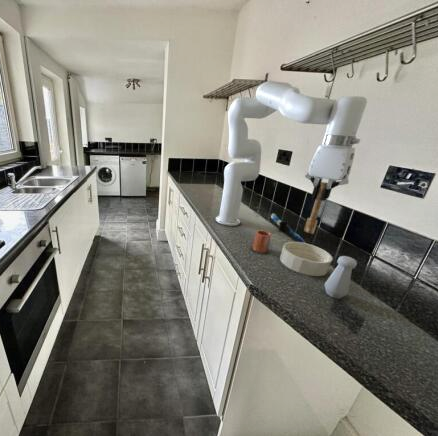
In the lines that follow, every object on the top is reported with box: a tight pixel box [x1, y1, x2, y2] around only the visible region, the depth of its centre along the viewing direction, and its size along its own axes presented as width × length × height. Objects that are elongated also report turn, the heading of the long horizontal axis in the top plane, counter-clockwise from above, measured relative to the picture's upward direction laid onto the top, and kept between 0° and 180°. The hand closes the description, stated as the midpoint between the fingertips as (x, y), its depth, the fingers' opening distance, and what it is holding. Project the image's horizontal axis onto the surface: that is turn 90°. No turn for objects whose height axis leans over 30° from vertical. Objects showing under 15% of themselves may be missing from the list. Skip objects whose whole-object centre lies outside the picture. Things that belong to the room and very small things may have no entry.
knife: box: [270, 212, 306, 243], centre depth 113 cm, size 31×3×4 cm, turn 178°
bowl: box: [279, 241, 334, 277], centre depth 86 cm, size 15×15×6 cm
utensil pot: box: [252, 229, 272, 253], centre depth 95 cm, size 5×6×8 cm
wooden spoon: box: [303, 181, 328, 235], centre depth 79 cm, size 3×2×18 cm, turn 33°
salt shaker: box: [323, 255, 358, 300], centre depth 70 cm, size 6×6×13 cm
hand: (319, 198), depth 78 cm, fingers closed on wooden spoon, 1 cm apart
